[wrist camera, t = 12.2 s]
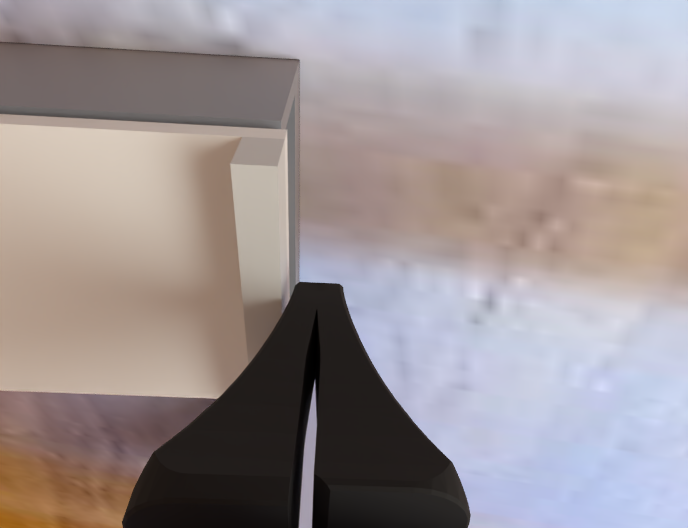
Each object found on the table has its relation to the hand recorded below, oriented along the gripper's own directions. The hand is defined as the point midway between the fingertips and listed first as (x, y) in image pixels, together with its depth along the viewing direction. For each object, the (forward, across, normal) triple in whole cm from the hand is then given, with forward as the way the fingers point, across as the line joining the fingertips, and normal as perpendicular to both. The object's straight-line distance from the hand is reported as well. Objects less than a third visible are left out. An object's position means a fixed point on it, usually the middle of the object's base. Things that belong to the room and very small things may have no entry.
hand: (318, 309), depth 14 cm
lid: (+1, +8, 0) cm, 8 cm away
